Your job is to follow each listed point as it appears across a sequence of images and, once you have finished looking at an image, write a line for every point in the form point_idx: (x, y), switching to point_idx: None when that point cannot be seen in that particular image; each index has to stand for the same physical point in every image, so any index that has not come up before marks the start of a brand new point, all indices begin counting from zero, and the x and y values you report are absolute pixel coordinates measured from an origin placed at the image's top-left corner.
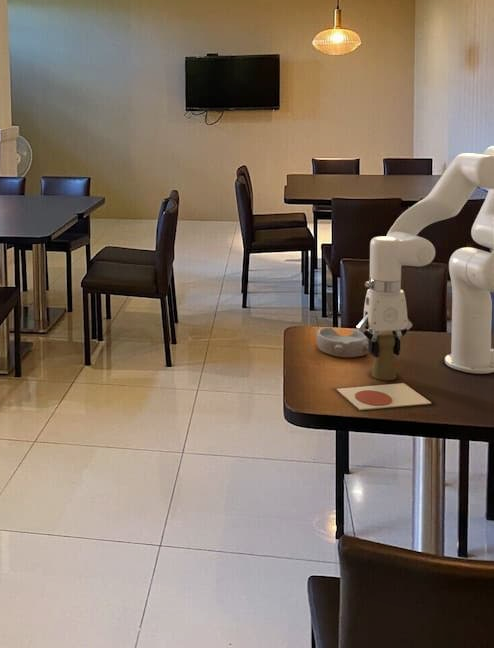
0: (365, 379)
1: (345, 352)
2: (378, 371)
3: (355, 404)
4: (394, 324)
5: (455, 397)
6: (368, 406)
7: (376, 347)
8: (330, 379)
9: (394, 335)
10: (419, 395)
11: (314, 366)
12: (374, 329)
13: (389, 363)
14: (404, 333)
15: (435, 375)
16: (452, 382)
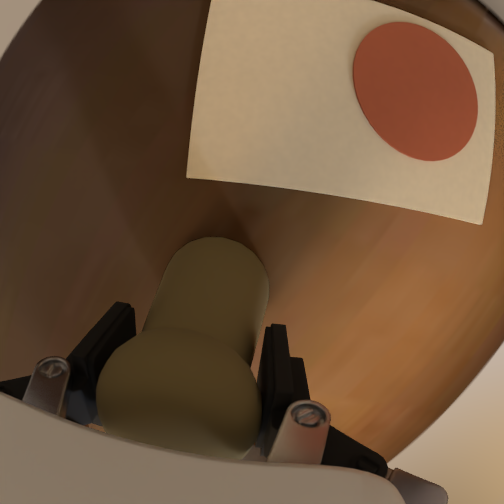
0: (320, 280)
1: (259, 457)
2: (260, 282)
3: (493, 85)
4: (41, 481)
5: (88, 23)
6: (466, 49)
7: (283, 362)
8: (435, 315)
9: (82, 414)
10: (212, 37)
11: (394, 413)
12: (379, 483)
13: (204, 274)
14: (10, 383)
15: (30, 227)
16: (16, 153)
